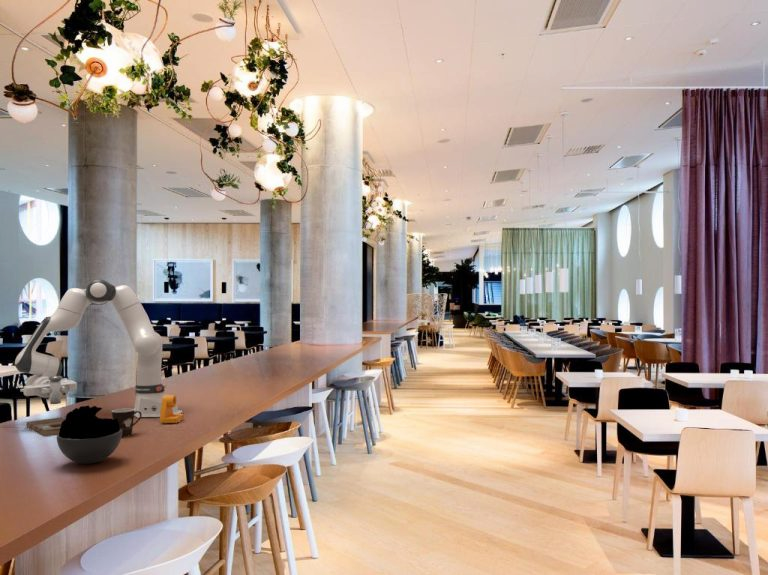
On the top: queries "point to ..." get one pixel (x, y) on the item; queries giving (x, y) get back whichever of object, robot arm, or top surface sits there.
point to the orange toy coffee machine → (169, 410)
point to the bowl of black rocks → (88, 435)
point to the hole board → (46, 426)
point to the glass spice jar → (55, 389)
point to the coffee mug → (125, 419)
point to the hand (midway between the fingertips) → (56, 390)
